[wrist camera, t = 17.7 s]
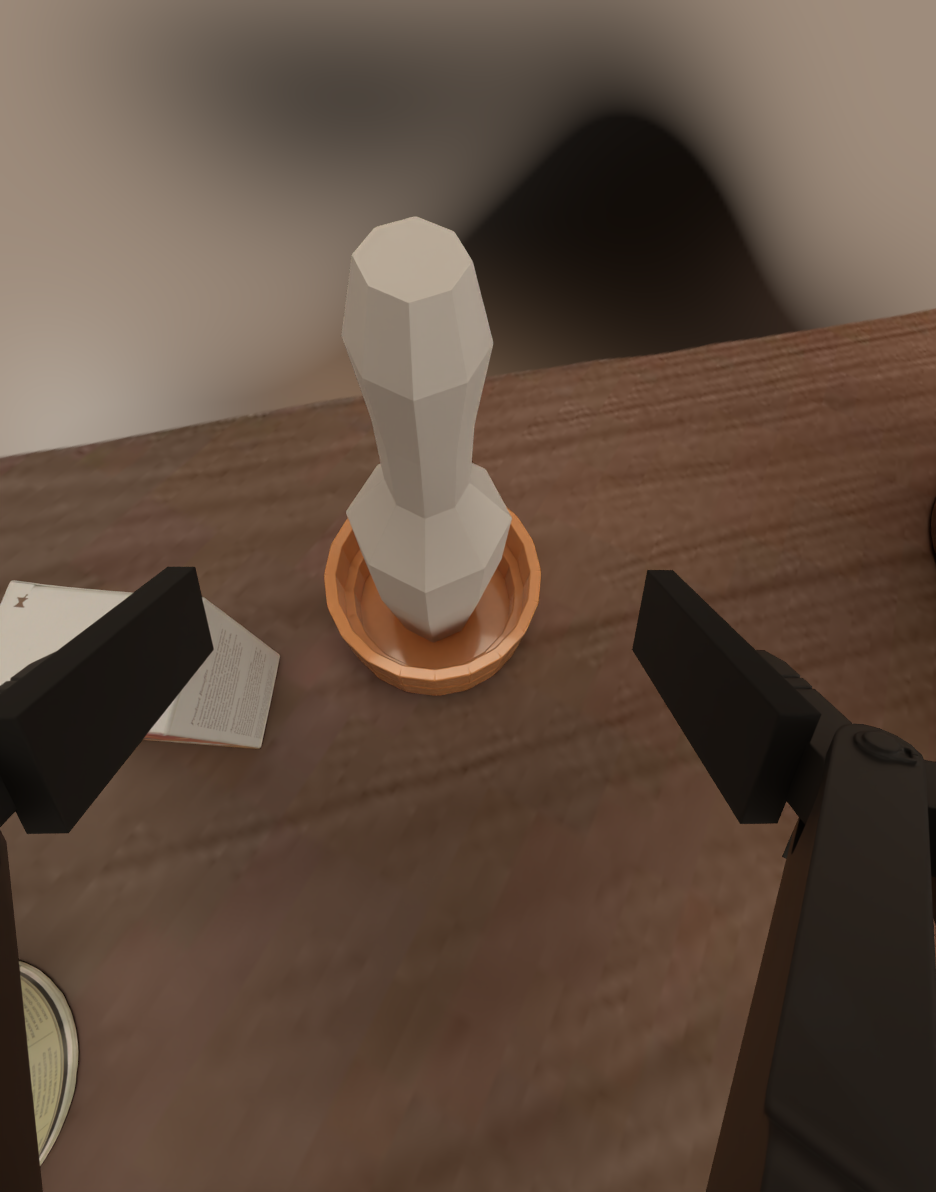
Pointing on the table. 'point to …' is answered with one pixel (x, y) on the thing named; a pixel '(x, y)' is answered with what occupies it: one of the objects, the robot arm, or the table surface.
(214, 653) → the small box
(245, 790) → the table surface
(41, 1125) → the coffee can
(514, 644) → the bowl
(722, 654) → the robot arm
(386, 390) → the low poly bottle
